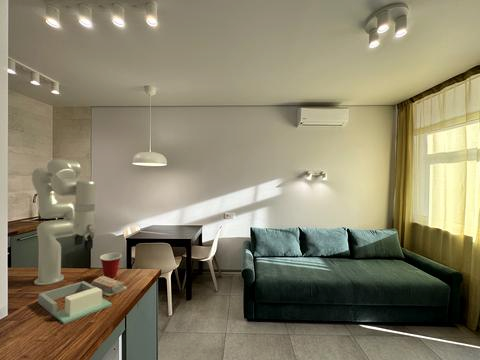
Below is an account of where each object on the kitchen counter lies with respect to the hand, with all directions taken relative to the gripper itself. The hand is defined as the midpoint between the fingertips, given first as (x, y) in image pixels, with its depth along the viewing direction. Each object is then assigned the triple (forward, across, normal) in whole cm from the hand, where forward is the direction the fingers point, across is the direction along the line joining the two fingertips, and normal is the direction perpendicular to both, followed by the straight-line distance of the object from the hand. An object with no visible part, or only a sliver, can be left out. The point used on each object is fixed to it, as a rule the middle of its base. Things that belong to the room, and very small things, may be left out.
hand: (83, 246), depth 112 cm
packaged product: (+25, -4, +13) cm, 28 cm away
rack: (+24, -4, -3) cm, 25 cm away
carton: (+23, +10, -3) cm, 25 cm away
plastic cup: (+25, -17, +22) cm, 37 cm away
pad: (+24, +10, -3) cm, 26 cm away
